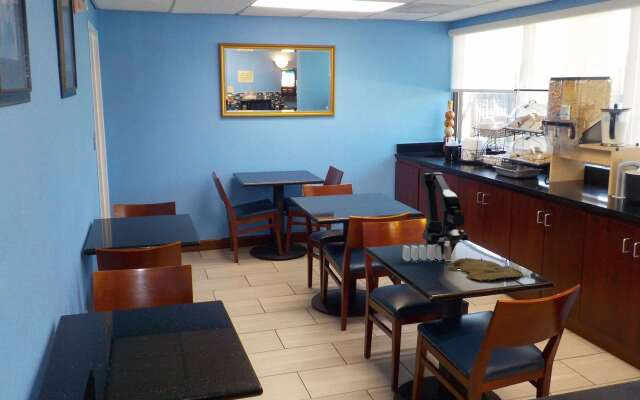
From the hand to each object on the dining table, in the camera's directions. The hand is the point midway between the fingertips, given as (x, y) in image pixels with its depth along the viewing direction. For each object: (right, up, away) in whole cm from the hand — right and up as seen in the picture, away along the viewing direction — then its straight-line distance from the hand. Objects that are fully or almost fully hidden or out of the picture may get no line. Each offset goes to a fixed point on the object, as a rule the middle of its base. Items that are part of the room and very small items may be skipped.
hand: (446, 254), depth 272 cm
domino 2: (-16, -3, -3) cm, 16 cm away
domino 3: (-12, -3, -2) cm, 12 cm away
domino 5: (-4, -2, -1) cm, 5 cm away
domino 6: (0, -3, 0) cm, 3 cm away
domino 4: (-8, -3, -1) cm, 8 cm away
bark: (+14, -7, -19) cm, 24 cm away
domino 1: (-20, -3, -4) cm, 20 cm away
